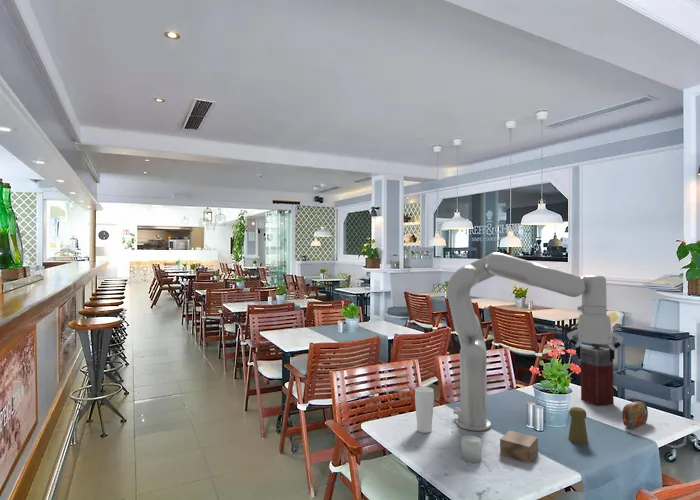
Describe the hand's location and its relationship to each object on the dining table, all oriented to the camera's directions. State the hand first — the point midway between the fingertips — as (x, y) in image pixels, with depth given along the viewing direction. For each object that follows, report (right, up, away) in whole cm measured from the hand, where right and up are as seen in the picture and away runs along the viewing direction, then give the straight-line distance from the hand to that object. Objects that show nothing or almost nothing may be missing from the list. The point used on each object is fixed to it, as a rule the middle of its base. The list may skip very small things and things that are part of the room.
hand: (594, 359), depth 151 cm
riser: (-31, -27, -13) cm, 43 cm away
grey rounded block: (-48, -27, -16) cm, 57 cm away
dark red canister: (+22, -28, +39) cm, 53 cm away
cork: (-7, -28, -2) cm, 28 cm away
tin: (+22, -28, +11) cm, 37 cm away
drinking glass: (-59, -28, +6) cm, 65 cm away
